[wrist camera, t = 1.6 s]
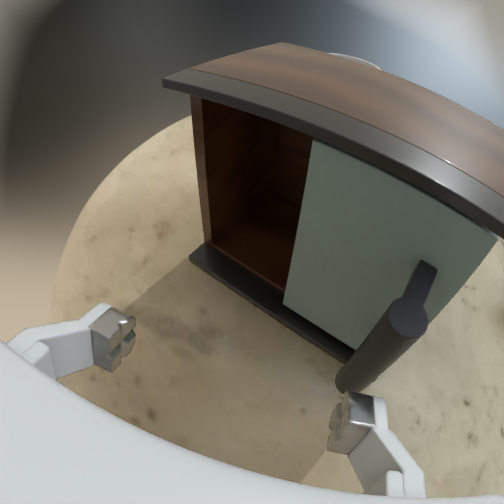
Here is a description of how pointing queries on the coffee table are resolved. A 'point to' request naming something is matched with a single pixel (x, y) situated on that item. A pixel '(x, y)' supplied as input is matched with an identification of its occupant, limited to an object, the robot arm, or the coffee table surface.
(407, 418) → the coffee table surface
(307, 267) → the door
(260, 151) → the cabinet
